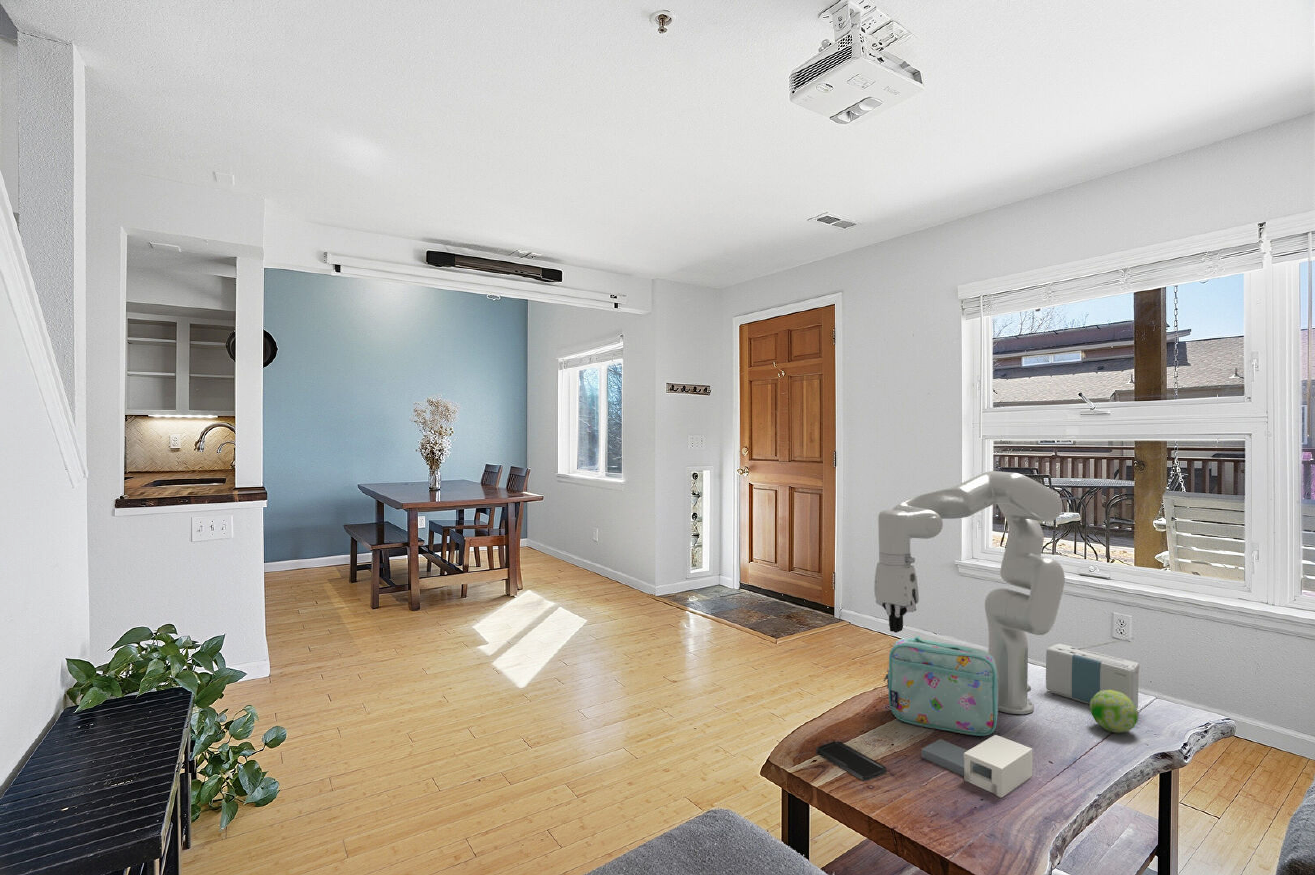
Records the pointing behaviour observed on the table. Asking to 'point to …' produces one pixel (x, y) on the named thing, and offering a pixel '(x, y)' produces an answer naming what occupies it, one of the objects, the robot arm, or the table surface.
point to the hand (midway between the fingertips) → (896, 630)
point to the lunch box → (943, 686)
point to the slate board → (952, 758)
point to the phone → (851, 760)
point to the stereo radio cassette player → (1089, 673)
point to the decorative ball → (1114, 711)
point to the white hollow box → (999, 764)
